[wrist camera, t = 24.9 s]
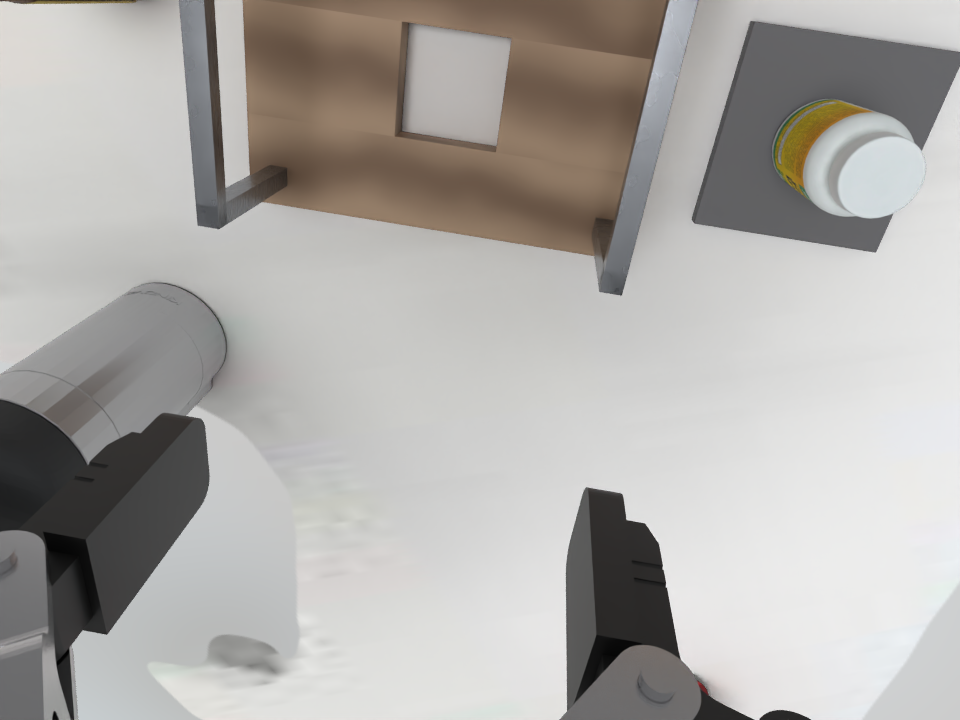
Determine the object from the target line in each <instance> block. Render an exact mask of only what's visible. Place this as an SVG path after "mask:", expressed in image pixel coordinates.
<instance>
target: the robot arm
mask: <svg viewBox="0 0 960 720" xmlns="http://www.w3.org/2000/svg"><path fill="white" fill-rule="evenodd" d="M225 354H226V341H225V337H224V333H223V330H222V328H221V326H220V324H219V322H218V320H217V318H216V317H215V316H214V314H213V313H212V312H211V310H210V309H209V308H208V307H207V306H206V305H205V304H204V303H203V302H202V301H201V300H199V299H198V298H196V297H195V296H194V295H192V294H191V293H189V292H187V291H185V290H183V289H181V288H178V287H175V286H172V285H168V284H161V283H150V284H144V285H141V286H138V287H136V288H133V289H132V290H130V291H129V292H127V293H125V294H124V295H122V296H121V297H119V298H118V299H116V300H115V301H113V302H112V303H110V304H108V305H107V306H105V307H104V308H102V309H100V310H99V311H97V312H96V313H94V314H93V315H91V316H90V317H88V318H86V319H85V320H83V321H82V322H80V323H79V324H77V325H76V326H74V327H73V328H71V329H69V330H68V331H66V332H65V333H63V334H62V335H60V336H59V337H57V338H56V339H54V340H52V341H51V342H49V343H48V344H46V345H45V346H43V347H42V348H40V349H39V350H37V351H35V352H34V353H32V354H31V355H29V356H28V357H26V358H25V359H23V360H22V361H20V362H18V363H17V364H15V365H14V366H12V367H11V368H9V369H8V370H6V371H4V372H3V373H1V374H0V720H78V709H77V695H76V683H75V682H76V681H75V668H74V655H73V649H72V646H71V645H72V643H73V642H74V641H75V639H76V638H77V637H78V635H79V634H80V633H81V631H82V630H85V631H90V632H96V633H101V634H106V635H107V634H108V633H109V631H110V630H111V629H112V627H113V626H114V624H115V623H116V622H117V620H118V619H119V618H120V616H121V615H122V614H123V612H124V611H125V609H126V608H127V606H128V605H129V604H130V602H131V601H132V600H133V598H134V597H135V596H136V594H137V593H138V592H139V590H140V589H141V587H142V586H143V585H144V583H145V582H146V581H147V579H148V578H149V576H150V575H151V574H152V572H153V571H154V569H155V568H156V567H157V566H158V564H159V563H160V561H161V560H162V559H163V557H164V556H165V554H166V553H167V552H168V550H169V549H170V547H171V546H172V545H173V544H174V542H175V540H176V539H177V538H178V537H179V535H180V534H181V533H182V531H183V530H184V528H185V527H186V526H187V524H188V523H189V521H190V520H191V519H192V518H193V516H194V515H195V513H196V512H197V510H198V509H199V508H200V506H201V505H202V503H203V501H204V499H205V497H206V494H207V491H208V486H209V465H208V454H207V443H206V433H205V425H204V422H203V421H202V420H201V419H199V418H194V417H188V416H186V415H187V414H188V413H189V412H190V411H191V410H192V409H193V408H194V406H196V404H197V403H198V402H199V401H200V400H201V399H202V398H203V397H204V396H205V395H206V394H207V393H208V392H209V390H210V389H211V388H212V383H211V381H212V378H213V376H214V375H215V374H216V373H217V372H218V371H219V370H220V368H221V366H222V364H223V362H224V359H225ZM662 567H663V564H662V559H661V553H660V548H659V544H658V542H657V541H656V539H655V538H654V536H653V535H652V533H651V532H650V530H649V529H648V527H647V526H646V524H645V523H639V522H633V521H628V520H626V514H625V506H624V499H623V495H622V494H621V493H615V492H610V491H604V490H598V489H593V488H587V487H586V488H585V490H584V492H583V495H582V499H581V503H580V506H579V510H578V514H577V517H576V521H575V525H574V528H573V532H572V536H571V540H570V544H569V549H568V555H567V563H566V634H567V712H566V713H565V714H564V715H563V716H562V718H561V719H560V720H754V719H752V718H749V717H747V716H745V715H743V714H741V713H739V712H737V711H735V710H733V709H731V708H729V707H727V706H725V705H723V704H721V703H719V702H718V701H716V700H714V699H713V698H711V697H710V696H709V695H707V694H706V693H705V692H704V691H702V690H701V689H700V688H699V685H698V682H697V680H696V678H695V676H694V675H693V673H692V672H691V670H690V669H689V668H688V667H687V666H686V665H685V664H684V663H683V662H682V661H681V659H680V655H679V651H678V646H677V640H676V635H675V629H674V624H673V619H672V613H671V608H670V602H669V597H668V591H667V588H666V581H665V575H664V570H662ZM759 720H811V719H809V718H807V717H805V716H803V715H800V714H798V713H795V712H791V711H785V710H776V711H771V712H769V713H766V714H765V715H763V716H762V717H761V718H760V719H759Z"/></svg>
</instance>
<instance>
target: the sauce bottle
mask: <svg viewBox="0 0 960 720" xmlns="http://www.w3.org/2000/svg"><path fill="white" fill-rule="evenodd" d="M0 1H9V2H13V3H19V4H71V3H134V2H136V0H0Z"/></svg>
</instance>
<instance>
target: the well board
mask: <svg viewBox="0 0 960 720" xmlns="http://www.w3.org/2000/svg"><path fill="white" fill-rule="evenodd" d="M665 3H666V0H243V18H244V42H245V67H246V91H247V115H248V140H249V164H250V175H252V174H254V173H255V172H257V171H259V170H261V169H263V168H265V167H267V166H269V165H273V166H279V167H285V168H287V186H286V187H285V188H283V189H281V190H280V191H278V192H277V193H275V194H274V195H272V196H270V197H269V198H267V199H266V200H264V201H263V202H267V203H273V204H279V205H285V206H291V207H297V208H303V209H309V210H316V211H322V212H328V213H334V214H340V215H346V216H352V217H358V218H365V219H371V220H377V221H383V222H389V223H395V224H401V225H407V226H414V227H420V228H426V229H432V230H438V231H444V232H450V233H456V234H463V235H469V236H475V237H481V238H487V239H493V240H499V241H505V242H512V243H518V244H524V245H530V246H536V247H542V248H548V249H554V250H561V251H567V252H573V253H579V254H585V255H591V256H594V249H593V242H592V231H593V226H594V222H595V218H601V219H608V220H614V217H615V213H616V209H617V205H618V201H619V196H620V192H621V188H622V184H623V180H624V175H625V171H626V167H627V163H628V159H629V154H630V150H631V146H632V142H633V138H634V133H635V129H636V125H637V121H638V116H639V112H640V108H641V104H642V100H643V95H644V91H645V87H646V83H647V79H648V74H649V70H650V66H651V62H652V58H653V53H654V49H655V45H656V41H657V37H658V32H659V28H660V24H661V20H662V16H663V11H664V7H665ZM409 23H415V24H422V25H428V26H435V27H441V28H448V29H455V30H461V31H468V32H474V33H481V34H487V35H494V36H500V37H507V38H512V40H511V47H510V55H509V62H508V69H507V76H506V83H505V90H504V98H503V105H502V112H501V119H500V126H499V133H498V141H497V147H496V146H490V145H484V144H477V143H471V142H465V141H458V140H452V139H446V138H439V137H433V136H427V135H420V134H414V133H408V132H402V131H401V127H402V113H403V98H404V84H405V69H406V55H407V40H408V26H409Z"/></svg>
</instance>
